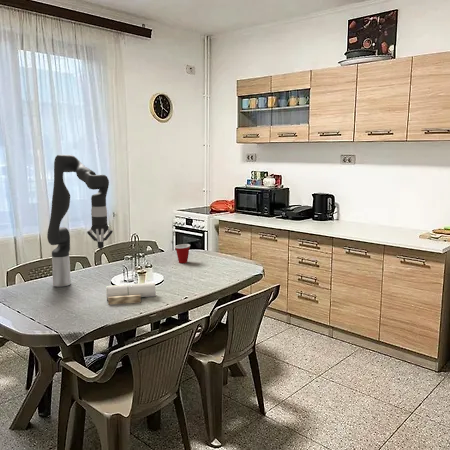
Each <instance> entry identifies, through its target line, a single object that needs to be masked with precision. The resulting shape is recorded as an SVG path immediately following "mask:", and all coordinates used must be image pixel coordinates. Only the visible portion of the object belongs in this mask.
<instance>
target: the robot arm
mask: <svg viewBox="0 0 450 450" xmlns="http://www.w3.org/2000/svg"><path fill="white" fill-rule="evenodd" d="M64 173H75V175H76V177H77V178H78V179H79V180H80V181H81V182H83V183H85V185H86V186H87V188H88V189H89V190H98V191H97V192H96V193H95V194H94V193H93V194H92V195H91V197H90V200H91V209H90V212H91V213H90V214H91V227H90V229H88V230H87V231H86V234H87V235H89V237H90V238H91V239H92V240H93V241H94V242H96V243H97V248H99V250H103V249H104V247H105V245H104V242H106V241H108V239H109V238H110V236H111V235H112V234H113V232H114V231H113V229H111V228H109V225H108V210H107V209H108V207H107V194H108V190H109V186H110V180H109V178H108V176H106V175H105V174H96V172H95V171H94V170H92V169H90V168H88V167H86V165H84V164H83V163H82V162H81V161H80V160H79V159H78V158H77V157H76V156H74V155H72V154H57V155H56V156H55V158H54V162H53V190H52V198H51V199H52V200H51V209H50V218H49V223H48V228H47V234H46V235H47V236H46V237H47V242H48V243H49V245H52V246H56V247H55V249H53V250H52V251H51V260H52V261H51V263H52V270H51V271H52V272H51V274H52V286H53V287H56V288H57V287H58V288H60V287H67V286H69V285H71V284H72V281H71V262H70V260H71V259H70V250H71V234H70V231H69V229H68V228H67V227H65V226H61V222H62V221H63V219H64V217H65V216H66V214H67V213H68V212H69V211H68V210H69V209H70V204H71V194H70V191H69V190H68V187H67V186H66V184H65V182H64ZM106 233H107V234H106ZM105 234H106V236H104V235H105ZM95 235H96V237H95Z"/></svg>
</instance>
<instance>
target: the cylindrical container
mask: <svg viewBox="0 0 450 450" xmlns="http://www.w3.org/2000/svg"><path fill="white" fill-rule="evenodd" d="M156 291H157V289H156V282H146V283H145V282H144V283H131V284H119V285H117V284H115V285H107V286H106V291H105V293H106V300H108V297H112V296H127V295H140V296H141V298H147V297H156V294H157V293H156Z"/></svg>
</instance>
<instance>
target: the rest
mask: <svg viewBox="0 0 450 450" xmlns="http://www.w3.org/2000/svg"><path fill="white" fill-rule="evenodd" d="M141 298H142V297H141V296H140V295H127V296H112V297H108V305H123V304H134V303H135V304H137V303H141V301H142V299H141Z"/></svg>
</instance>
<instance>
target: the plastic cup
mask: <svg viewBox="0 0 450 450" xmlns="http://www.w3.org/2000/svg"><path fill="white" fill-rule="evenodd" d="M190 247H191V244H189V243H182V244H177V245H174V248H175V251H176V256H177V261H178V263H179V264H187V263H188V261H189V260H188V259H189V255H190V253H189V251H190Z"/></svg>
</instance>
